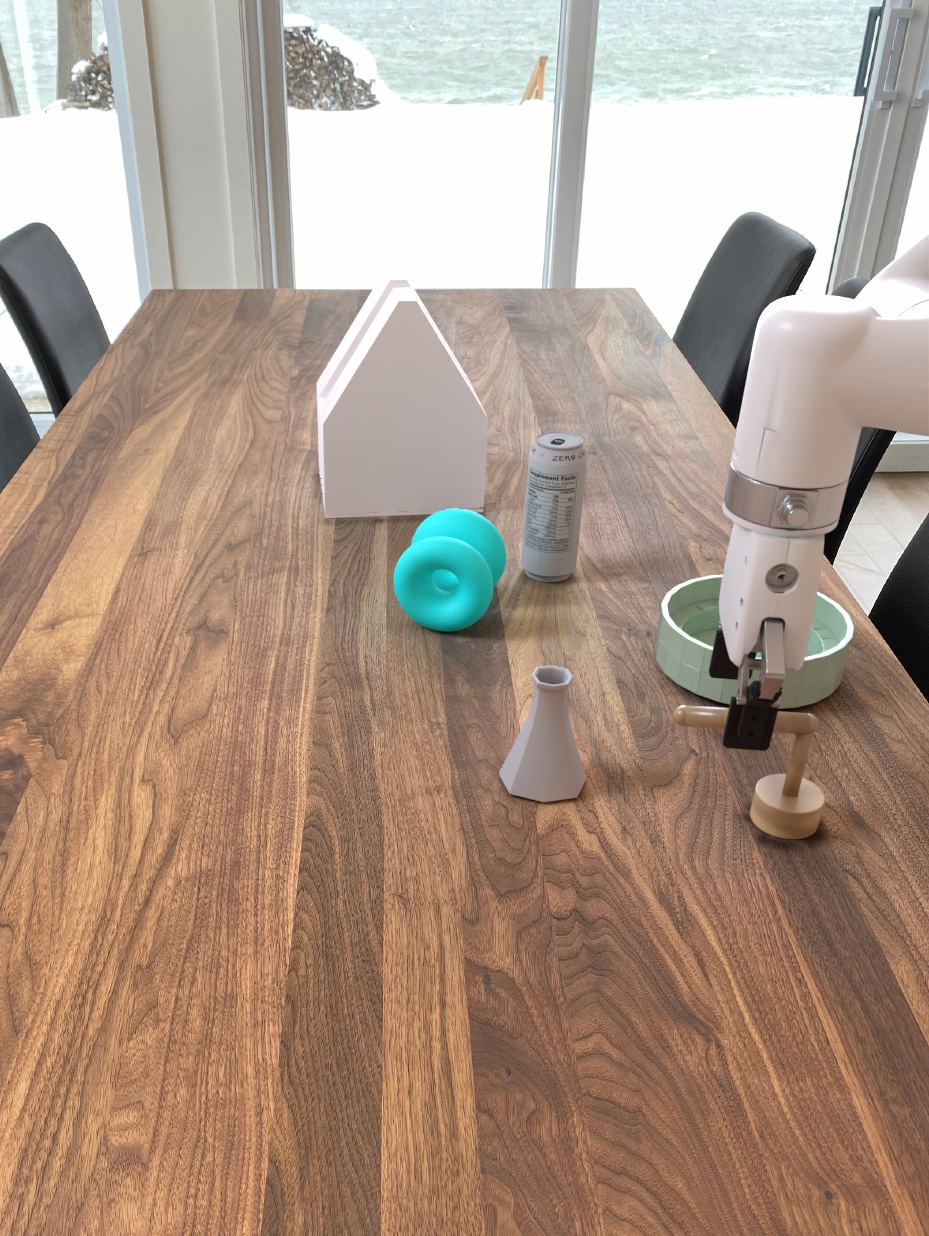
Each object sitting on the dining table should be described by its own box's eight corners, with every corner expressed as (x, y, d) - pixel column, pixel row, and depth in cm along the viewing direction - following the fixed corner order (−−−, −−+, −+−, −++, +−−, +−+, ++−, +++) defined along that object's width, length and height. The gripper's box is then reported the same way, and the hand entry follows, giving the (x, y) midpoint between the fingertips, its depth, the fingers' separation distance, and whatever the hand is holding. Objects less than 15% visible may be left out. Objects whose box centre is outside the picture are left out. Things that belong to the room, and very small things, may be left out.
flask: (584, 756, 101) (596, 654, 95) (588, 807, 95) (602, 702, 89) (498, 751, 101) (505, 650, 96) (498, 802, 95) (505, 697, 90)
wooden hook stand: (812, 801, 95) (838, 698, 90) (823, 842, 91) (852, 736, 85) (655, 790, 97) (672, 688, 91) (659, 829, 92) (677, 724, 87)
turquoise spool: (505, 597, 125) (511, 509, 119) (487, 642, 117) (493, 550, 111) (413, 586, 127) (415, 499, 121) (389, 630, 119) (390, 538, 113)
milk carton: (325, 518, 142) (319, 303, 128) (319, 470, 155) (313, 270, 141) (483, 512, 143) (495, 298, 129) (464, 465, 156) (473, 266, 142)
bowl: (822, 628, 119) (834, 579, 116) (857, 721, 105) (871, 667, 102) (649, 618, 121) (656, 569, 118) (660, 707, 107) (668, 655, 104)
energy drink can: (583, 567, 131) (598, 435, 122) (562, 589, 126) (575, 453, 118) (533, 556, 133) (544, 426, 125) (511, 576, 129) (520, 443, 120)
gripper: (869, 553, 71) (807, 782, 81) (818, 451, 85) (771, 657, 95) (742, 545, 72) (695, 773, 82) (712, 446, 86) (676, 650, 96)
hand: (736, 710), depth 88 cm, fingers open, 9 cm apart
